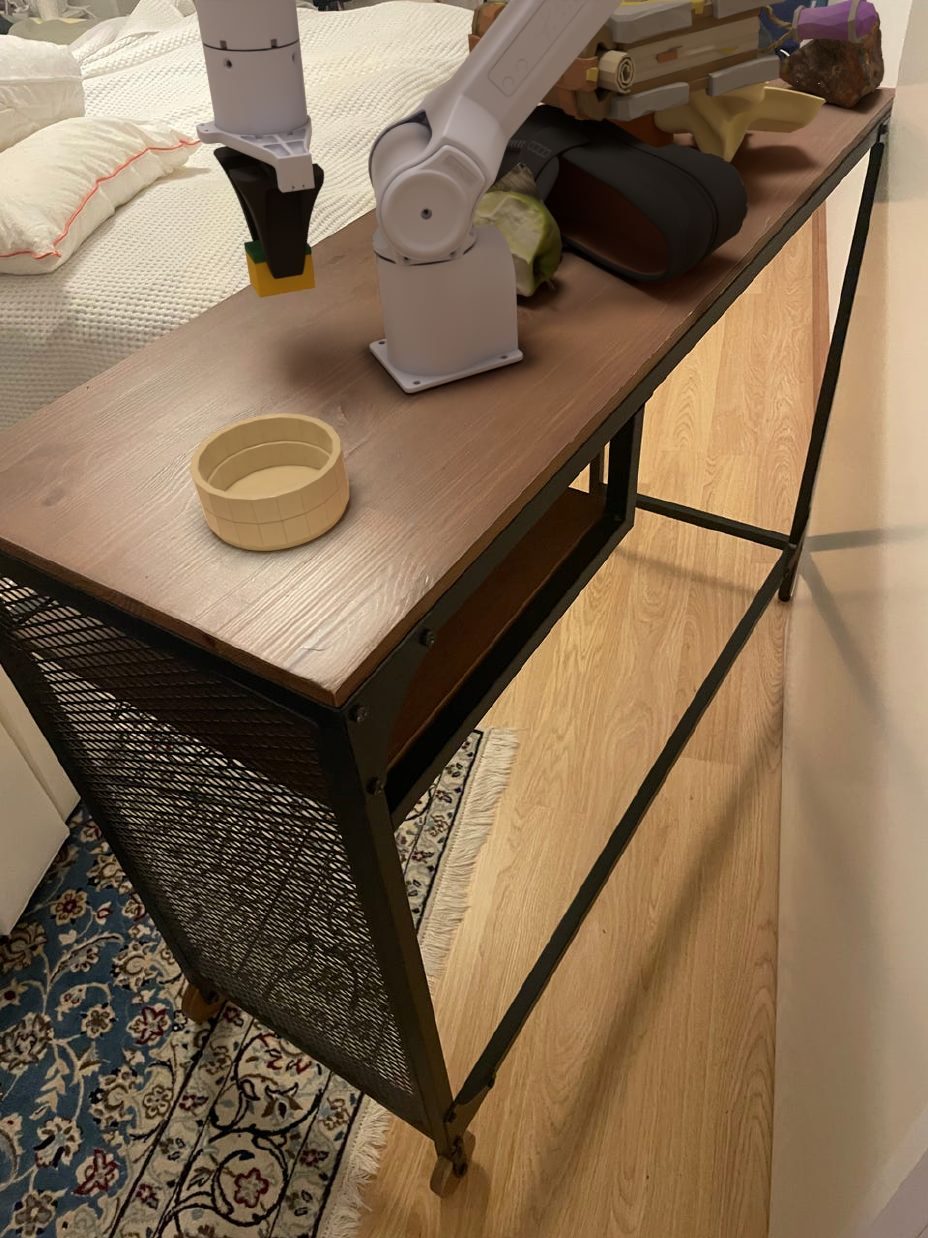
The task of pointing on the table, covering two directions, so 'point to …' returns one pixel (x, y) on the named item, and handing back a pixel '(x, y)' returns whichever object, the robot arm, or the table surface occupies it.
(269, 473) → the bowl
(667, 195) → the loafer
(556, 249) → the fruit
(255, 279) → the sponge
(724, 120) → the beige curved piece
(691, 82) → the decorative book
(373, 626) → the table surface
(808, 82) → the rock
